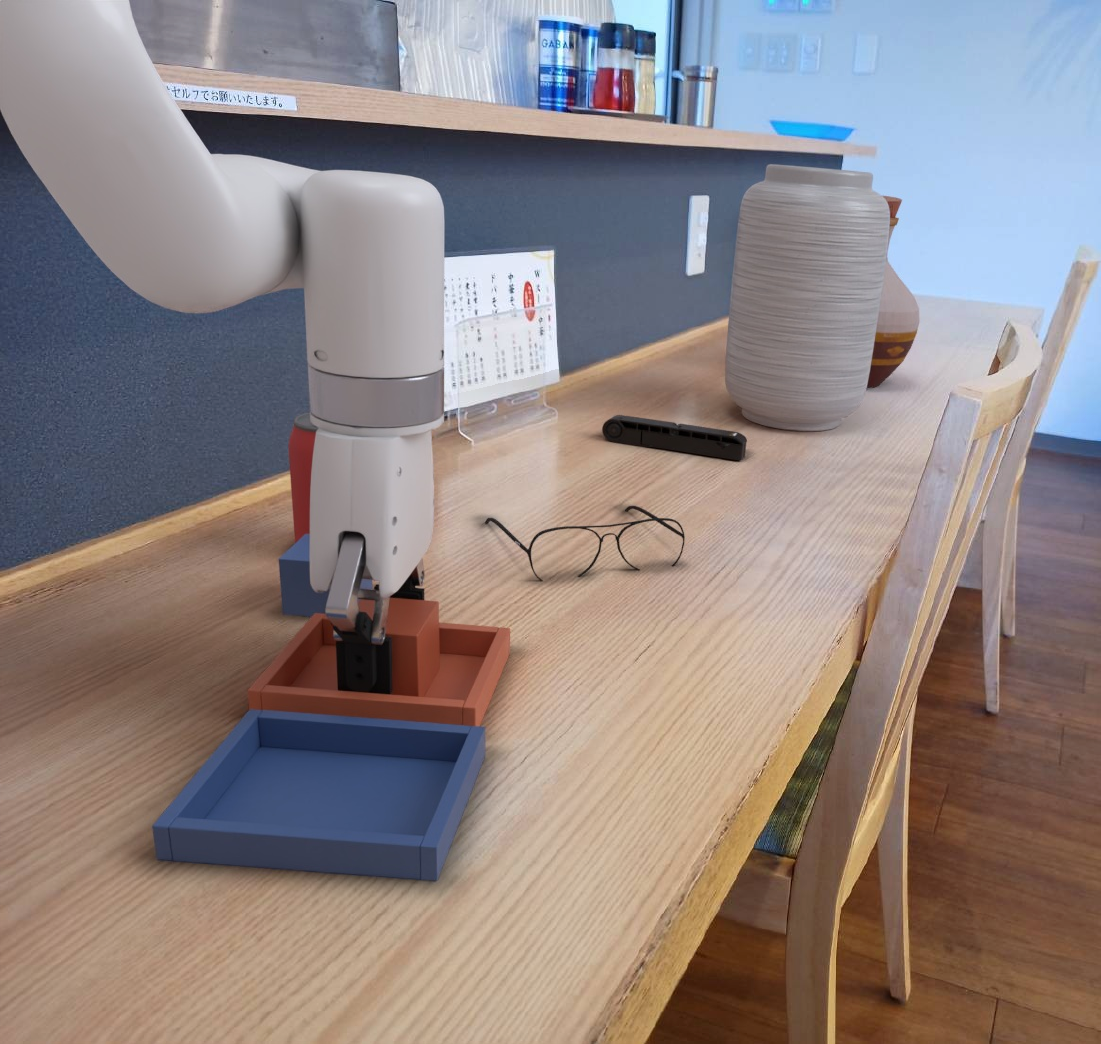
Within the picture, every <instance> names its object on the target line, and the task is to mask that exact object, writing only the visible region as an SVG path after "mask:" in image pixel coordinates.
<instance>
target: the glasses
mask: <svg viewBox="0 0 1101 1044" xmlns="http://www.w3.org/2000/svg"><path fill="white" fill-rule="evenodd" d="M631 510H635V511H638V512H640V513H642V514H644V515H646V516H647V517H649V518H645V519H639V520H635V521H627V522H621V523H615V524H614V523H613V524H604V525H578V526H577V525H576V526H575V525H572V526H570V525H568V526H567V525H566V526H565V525H564V526H557V527H551V528H545V529H544V530H540V531H538V532H537V533H536V534H535V535H534V536H533V537H532V538H531V539H532V540H531V542H530V544H529V547H526V546H525V545H524V544H523V543H522V542H521V541H520V540H519V539H518V538H517V537H516V536H515V535H514V534H513V533H512V532H511V531H510V530H509V529H507V527H505V526H504V524H502V523H501V522H500V521H498V519H496V518H494V517H487V518H486V520H485V521H484V523H485V524H489V523H490V522H492V523H494V524H495V525H496V526H497V527H498V528H499V529H500V530H501V531H502V532H503V533H505V535H506V536H507V537H508V538H509V539H511V540H512V542H513V543H515V545H517V546H518V547H519V548H520V549H521V550H522V551H524V552H525V553H526V554H527V557H528V561H529V564H530V567H531V570H532V572H533V574H534V576H535V577H536V578H537V580H539V581H540V582H544V580H543V579H542V578H541V577H539V576H538V575H537V573H536V571H535V569H534V565H533V561H532V549H533V545H534V543H535V541H537V539H538V538H539V537H540V536H542V535H545V534H546V533H547V534H548V533H550V532H554V531H560V530H570V529H572V530H573V529H577V530H578V529H579V530H585V531H589V532H592V533H593V534H595V536H596V537H597V538H598V540H599V544H598V550H597V552H596V554H595V556H594V558H593V560H592V561H591V562H590V564H589V565H588V567H586V568H585V570H584V571H582V572H581V573H580V574H578V575H577V578H581V577H582V576H584V575H585V574H586V573H587V572H589V570H591V569H592V567H593V566H594V564H596V561H598V558H599V555H600V554H601V550H602V543H603V542H604V538H605V537H607V536H614V538H615V541H616V547H617V551H618V552H619V554H620V556H621V558H622V559H623V560H624V562H625V564H627V565H628V566H630V567H631V568H632V569H635V570H637V571H641V569H640V568H638V567H636V566H634V565H633V564H631V563H630V562H629V561H628V560H627V559H626V557H625V555H624V554H623V552H622V550H621V545H620V544H621V543H620V538H621V536H622V535H623V533H624V532H625V531H626V530H627V529H629V528H631V527H633V526H635V525H638V524H642V523H648V522H657V523H658V524H660V525H662V527H664V528H666V529H668V530H669V531H671V532H673V534H676V535H678V536H679V537H681V539H682V544H681V549H680V553H679V555H678V557H677V558H676V560H675V561H674V562H673V564H672V565H671V567H675V566H676V565H677V563H678V561H679V560H680V559H681V556H682V554H683V551H684V547H685V532H684V528H683V527H682V525H681V523H680V522H678V521H677V520H676V519H673V518H668V517H657V516H656V515H654V514H653V513H651V512H649V511H648V510H646V509H644V508H643V507H640V506H637V505H629V506H627V507H626V508H625V509H624V511H625V512H629V511H631ZM667 522H673V523H675V524H676V525H678V527H679V529H680V530H681V531H679V530H678V529H676V528H675V527H674V526H671V525H670V524H668V523H667ZM619 526H624V527H623V528H622V529H621V530H620V531H619V533H618V534H616V533H612V532H608V533H605V534H603V535H602V536H601V537H600V534H599V533H598V532H596V531H595V530H593V529H592V528H611V527H619Z"/></svg>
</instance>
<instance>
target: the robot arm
mask: <svg viewBox="0 0 1101 1044" xmlns="http://www.w3.org/2000/svg"><path fill="white" fill-rule="evenodd" d="M0 113H1V115H2V117H3V119H4V121H5V123H6V125H7V128H8V129H9V132H10V134H11V135H12V137H13V139H14V141H15V142H16V145H17V146H18V148H19V149H20V152H21V153H22V155H23V156H24V158H25V159H26V161H27V162H28V164H29V165H30V167H31V168H32V170H33V172H34V173H35V174H36V176H37V177H38V178H39V180H40V181H41V182H42V184H43V185H44V186H45V188H46V190H47V191H48V192H49V193H50V195H51V196H52V198H53V199H54V200H55V202H56V203H57V204H58V206H59V207H60V208H61V210H62V211H63V213H64V214H65V216H66V217H67V218H68V220H69V221H70V222H71V224H72V225H73V226H74V228H75V229H76V230H77V232H78V233H79V234H80V236H81V237H82V239H83V240H84V241H85V242H86V243H87V245H88V246H89V247H90V248H91V250H92V251H93V253H95V254H96V256H97V257H98V258H99V259H100V260H101V261H102V263H103V264H104V265H105V266H106V267H107V268H108V269H109V270H110V271H111V272H112V273H113V274H114V275H115V276H116V277H117V278H118V279H119V280H120V281H122V283H123V284H125V285H126V286H127V287H128V288H129V289H130V290H132V291H133V292H135V293H136V294H138V295H139V296H141V297H142V298H144V299H145V300H147V301H149V302H150V303H152V304H154V305H157V306H159V307H161V308H164V309H167V310H170V311H175V312H179V313H185V314H210V313H211V314H212V313H215V312H219V311H222V310H226V309H229V308H231V307H234V306H238V305H240V304H242V303H244V302H246V301H249V300H251V299H254V298H257V297H260V296H264V295H268V294H272V293H276V292H280V291H284V290H290V289H291V290H293V289H303V297H304V299H303V300H304V318H305V339H306V340H305V341H306V363H307V377H308V400H309V402H308V403H309V412H310V421H311V423H312V424H313V425H315V426H316V427H318V430H317V431H316V436H315V442H314V450H313V459H312V470H311V487H310V584H311V586H312V588H313V590H314V591H315V592H317V593H324V592H326V591H328V590H329V589H330V592H329V596H328V599H327V603H326V608H325V614H326V617H327V618H328V619H329V621H330V622H331V625H332V626H333V629H334V631H333V638H334V640H335V641H336V660H337V685H338V691H351V692H364V693H377V694H389V695H390V694H391V693H392V691H393V680H392V637H385V635H386V626H387V617H388V608H389V599H390V598H401V599H414V600H425V588H424V587H423V585H424V583H425V579H426V578H425V577H426V572H425V565H424V561H423V560H424V559H423V557H424V556H425V554H426V553H427V552H428V550H429V548H430V545H431V544H432V539H433V535H434V521H435V476H434V475H435V474H434V455H433V453H434V452H433V436H432V431H435V430H437V429H438V428H440V427H442V426H443V424H444V423H445V229H446V227H445V221H446V220H445V207H444V202H443V198H442V196H441V193H440V192H439V191H438V189H437V187H435V185H433V184H432V183H431V182H429V181H427V180H425V179H423V178H419V177H415V176H411V175H406V174H399V173H391V172H381V171H380V172H378V171H366V170H354V169H352V170H350V169H329V170H319V169H312V168H307V167H303V166H299V165H295V164H290V163H286V162H282V161H277V160H273V159H270V158H264V157H261V156H254V155H248V154H237V153H236V154H231V153H230V154H229V153H228V154H224V153H210V151H209V150H208V148H207V147H206V145H205V144H204V142H203V140H202V139H201V138H200V136H199V135H198V133H197V132H196V130H195V129H194V128H193V126H192V124H191V123H190V121H189V120H188V118H187V117H186V116H185V113H184V112H183V111H182V110H181V108H180V107H179V105H178V104H177V102H176V100H175V99H174V97H173V96H172V94H171V92H170V91H169V89H168V88H167V86H166V84H165V82H164V81H163V79H162V77H161V76H160V73H159V71H158V70H157V69H156V67H155V65H154V63H153V60H152V59H151V57H150V55H149V54H148V52H147V49H146V47H145V45H144V43H143V40H142V38H141V36H140V34H139V31H138V28H137V25H136V23H135V20H134V16H133V11H132V7H131V3H130V0H0ZM362 579H369V580H372V581H373V582H378V584H377V583H376V584H375V585H374V586H373V589H363V588H360V585H361V581H362ZM421 587H423V588H421ZM358 599H364V600H375V603H374V612H373V621H372V619H371V618H370V617H369V615H368V614H367V613H366V612H360V611H359V606H358V602H357V600H358Z"/></svg>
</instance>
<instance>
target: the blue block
mask: <svg viewBox="0 0 1101 1044" xmlns="http://www.w3.org/2000/svg"><path fill="white" fill-rule="evenodd" d="M278 570H279V582H280V597H281V607H282V615H285V616H296V617H297V616H299V617H310V618H311V617H312V616H313V615H314V614H315V613H322V614H325V608H326V603H327V599H328V596H329V592H330V589H329V590H328V591H326V592H324V593H317V592H315V591H314V590H313V588H312V586H311V584H310V534H305V535H304V536H303V537H302V538H300V539H299V540H298V541H297V542H296V543H295V542H294V544H293V545H291V547H290V548H288V550H286V551H285V552H284V553H283V554H282V555H281V556H280V557H279V558H278ZM373 585H374V584H373V580H369V579H362V581H361V585H360V588H363V589H374V586H373ZM359 600H360V599H358V600H357V602H359Z"/></svg>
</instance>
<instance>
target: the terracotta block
mask: <svg viewBox="0 0 1101 1044" xmlns="http://www.w3.org/2000/svg"><path fill="white" fill-rule="evenodd" d="M374 603H375V600H364V599H360V600H359V602H358V606H359V611H360V612H366V613H367V614H368V615H369V617H370V618H371V619H372V621H373V612H374ZM439 622H440V601H437V600H426V599H424V600H414V599H401V598H390V599H389V608H388V617H387V626H386V635H385V637H392V680H393V691H392V693H391V694H390V695H402V696H415V697H424V696H425V694H426V692H427V690H428V689H429V687H430V685H431V683H432V681H433V679H434V677H435V676H436V674H437V672H438V670H439V668H440V651H439Z"/></svg>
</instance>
